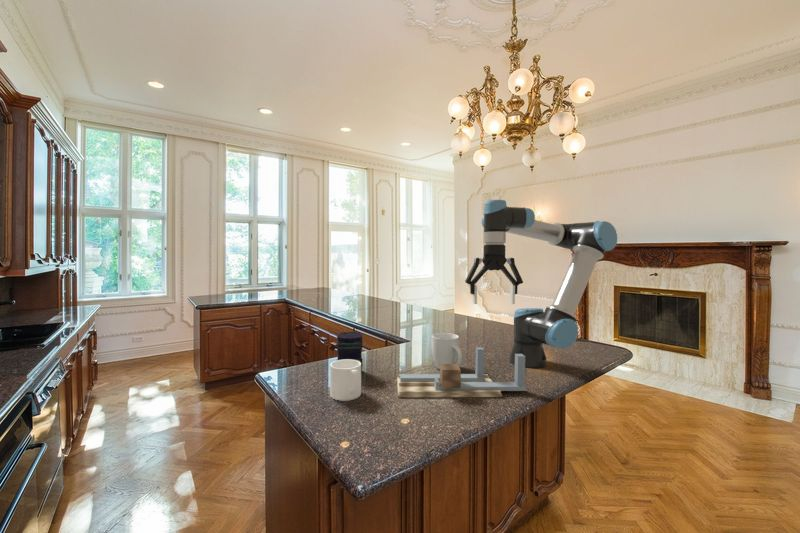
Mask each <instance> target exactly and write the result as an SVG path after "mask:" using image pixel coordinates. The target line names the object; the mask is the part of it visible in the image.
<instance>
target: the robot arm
mask: <svg viewBox="0 0 800 533" xmlns="http://www.w3.org/2000/svg"><path fill="white" fill-rule="evenodd" d="M483 209H484V210H483V215H482V217H481V226H482V227H483V232H484V233H483V243H484V245H483V256H482V257H483V258H479V257H475V258H474V260H473V265H472V267H471V269H470V270H469V273H468V275H467V277H466V278H465V280H464V283H466V284H468V285H469V292H470V295H472V304H474V305H478V285H476V284H477V283H478V281H479V280H480V279H481V278H482V277H483V276H484V274H486V272H488V271H501V272H502V273H503V274H504V276H505V277H506V278H507V279H508V280H509V282H510V283H511V284H510V285H509V303H510V304H511V305H515V303H516V302H515V301H516V300H515V299H516V298H515V297H516V295H518V286H519V285H522V284H524V281H523V278H522V276H521V274H520V272H519V269H518V267H517V265H516V263H515V258H514V257H508V258H506V245H505V244H506V242H507V241H506V238H507V236H506V234H513V235H517V236H521V237H527V238H531V239H536V240H539V241H544V242H547V243H548V244H550V245H552V246H556V247H559V248H564V249H566V250H572V251H573V252H574V254H573V256H572V259H571V261H570V263H569V265H568V268H567V269H566V270H567V271H566V272H565V275H564V277H563V279H562V282H561V283H560V286H559V288H558V291H557V292H556V295H555V297H554V299H553V302H552V304H551V305H549V306H547V307H546V308H545V310H544V309H543V308H542V307H541V308H539V307H538V308H537V307H534V308H533V307H528V308H516V309H515V311H514V316H513V344H512V346H511V349H510V352H509V355H508V362H510V363H511V364H513V365H515V354H523V355H524V356H525V368H534V369H535V368H542V367H543V368H544V367H545V366H547V364H548V363H547V362H548V359H547V355H546V353H545V348H544V345H547V346H550V347H551V348H555V349H556V348H558V349H561V350H562V349H566V348H569V347H570V346H572V345H573V344H574V343H575V342H576V341H577V338H578V336H579V326H578V324H577V317H576V314H575V313H576V311H577V309H578V306H579V304H580V301H581V299H582V296H583V294H584V292H585V291H586V287H587V285H588V283H589V281H590V279H591V276H592V273H593V271H594V270H595V266H596V264H597V262H598V261H601V260H602V259H603V258H604V257H605V254H606V252H610V251H612V250H614V249H615V247H616V246H617V243H618V233H617V229H616V227H615V226H614V225H613V224H612V223H611V222H609V221H606V220H603V221H602V220H601V221H599V220H596V221H589V222H575V223H559V222H555V223H549V222H545V221H541V220H537V219H536V213H535V212H534V210H533V209H531V208H528V207H517V206H515V207H514V206H513V207H512V206H507V201H506V200H503V199H489V200H487V201H485V203H484V207H483ZM506 263H507V264H508V266H509V267H510V270H511V271H512V273H513V275H512V273H511V272H510V271H509V270H508V269H507V267H506V265H505V264H506ZM481 264H484V265H483V266H482V268H481V269H480V270H479V272H478V273H477V274H476V275H475V273H476V271H477V269H478V267H479V265H481Z"/></svg>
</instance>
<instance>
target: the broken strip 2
mask: <svg viewBox="0 0 800 533" xmlns="http://www.w3.org/2000/svg"><path fill="white" fill-rule="evenodd" d="M474 364H475V368H474V372H475V373H461V382H485V377H484V374H485V348H483V347H481V346H480V347H479V346H476V347H475V363H474Z"/></svg>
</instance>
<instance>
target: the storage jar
mask: <svg viewBox="0 0 800 533" xmlns="http://www.w3.org/2000/svg"><path fill="white" fill-rule="evenodd" d="M363 344H364V343H363V333H361V332H357V331H347V332H346V331H345V332H344V331H343V332H339V333H338V334H336V350H337V359H336V361H337V360H342V359H352V360H357V361H360V362H361V375H362V374H363V364H364V363H363V358H362V354H363V352H362V350H363Z"/></svg>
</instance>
